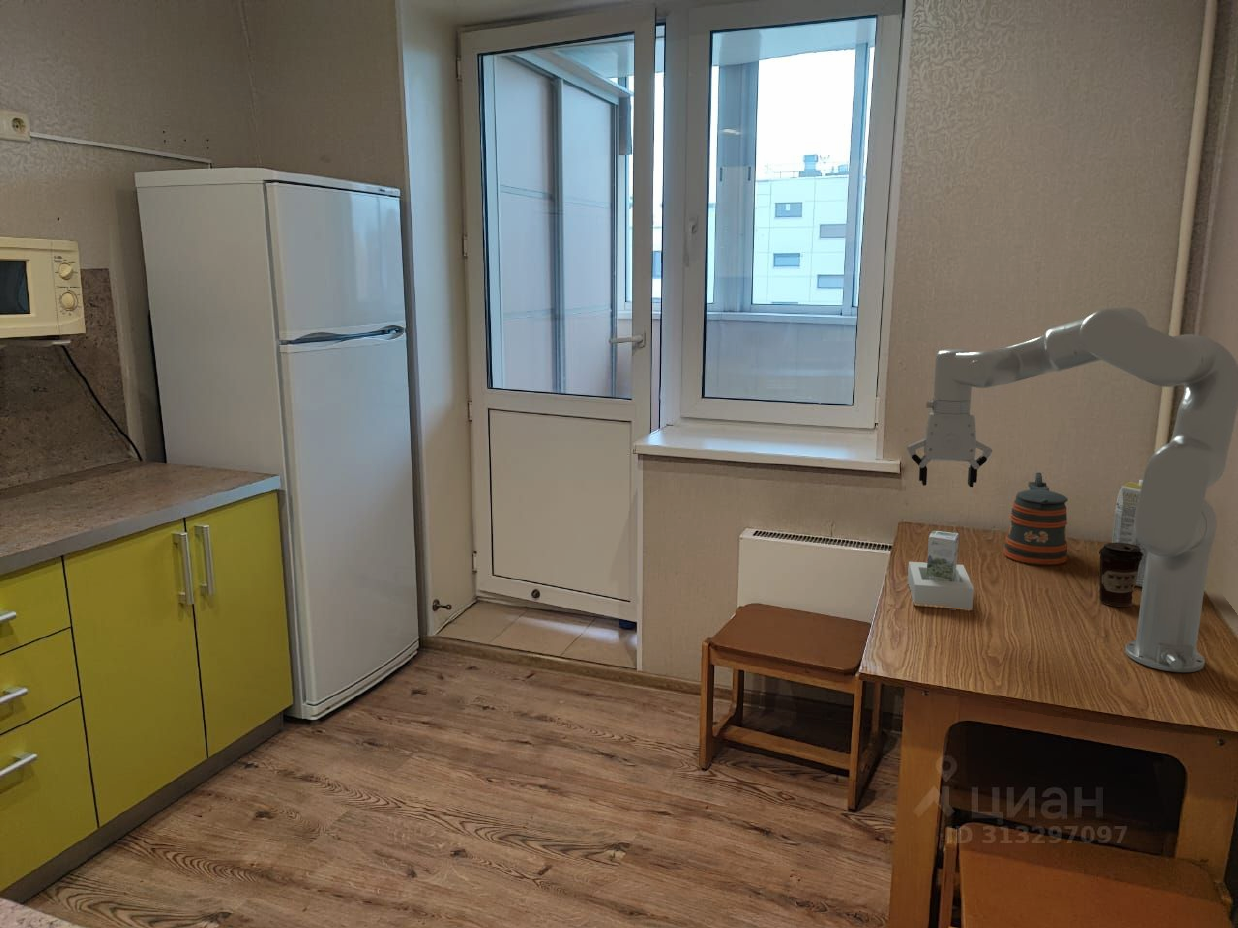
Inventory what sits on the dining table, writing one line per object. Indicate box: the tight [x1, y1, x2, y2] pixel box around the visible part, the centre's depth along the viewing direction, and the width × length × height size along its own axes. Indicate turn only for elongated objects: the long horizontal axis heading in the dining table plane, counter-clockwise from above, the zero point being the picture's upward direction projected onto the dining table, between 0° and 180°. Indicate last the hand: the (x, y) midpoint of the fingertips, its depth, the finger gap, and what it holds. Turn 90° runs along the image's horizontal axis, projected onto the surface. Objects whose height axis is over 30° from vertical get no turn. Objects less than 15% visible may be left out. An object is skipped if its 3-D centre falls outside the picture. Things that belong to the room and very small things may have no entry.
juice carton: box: [1111, 479, 1148, 587], centre depth 201 cm, size 9×8×24 cm
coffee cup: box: [1098, 542, 1143, 608], centre depth 189 cm, size 9×8×13 cm
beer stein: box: [1002, 472, 1069, 566], centre depth 222 cm, size 19×15×20 cm
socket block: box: [907, 561, 975, 610], centre depth 195 cm, size 16×12×6 cm
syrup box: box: [926, 530, 960, 582], centre depth 194 cm, size 6×6×14 cm
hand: (947, 485), depth 190 cm, fingers open, 9 cm apart
